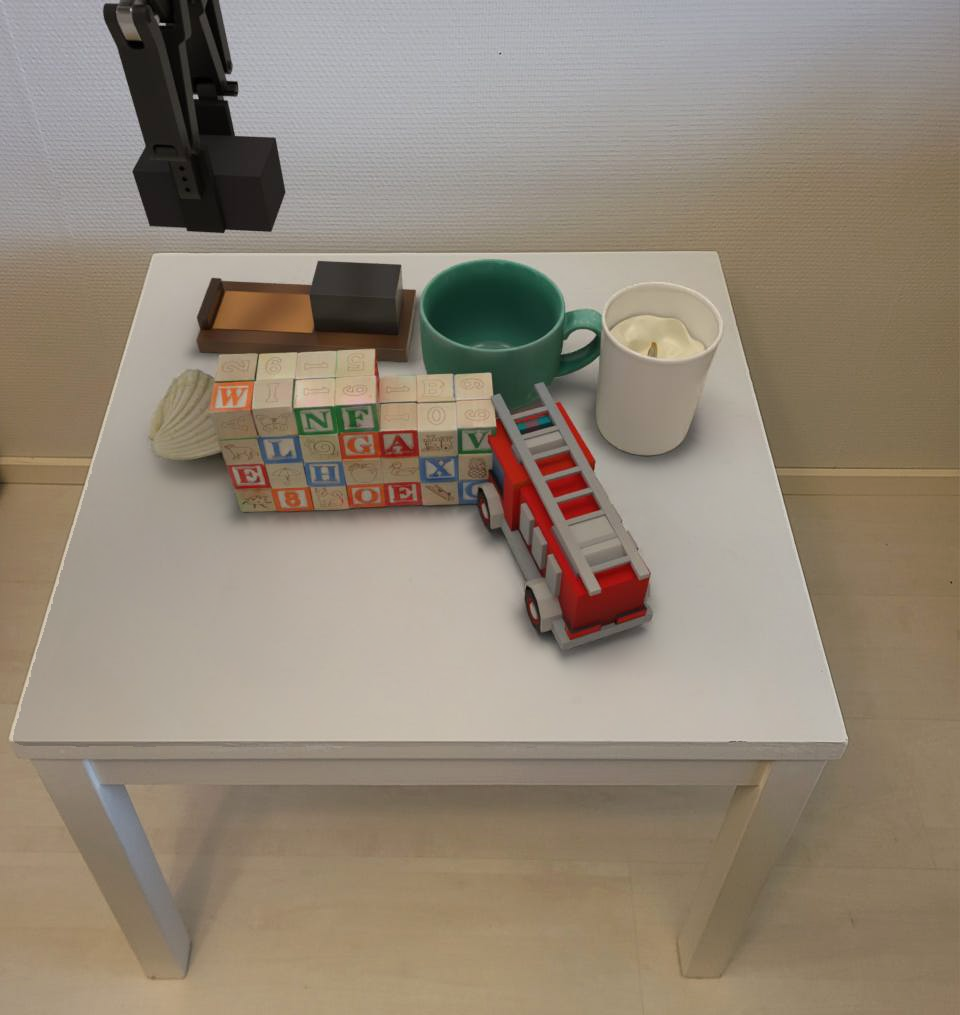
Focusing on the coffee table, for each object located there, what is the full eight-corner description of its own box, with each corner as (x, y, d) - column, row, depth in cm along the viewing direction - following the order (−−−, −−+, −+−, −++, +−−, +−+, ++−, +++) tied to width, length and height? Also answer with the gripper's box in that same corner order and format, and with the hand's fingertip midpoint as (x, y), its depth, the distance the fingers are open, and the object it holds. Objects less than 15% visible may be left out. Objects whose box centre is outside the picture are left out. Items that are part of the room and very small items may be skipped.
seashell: (125, 410, 84) (189, 345, 84) (200, 467, 89) (260, 406, 88) (131, 446, 77) (199, 375, 77) (211, 505, 82) (276, 439, 82)
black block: (149, 226, 70) (131, 170, 66) (169, 187, 73) (153, 132, 69) (271, 232, 69) (260, 176, 66) (285, 192, 72) (275, 137, 69)
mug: (408, 420, 87) (403, 340, 79) (438, 330, 95) (436, 249, 87) (591, 446, 85) (603, 367, 78) (606, 352, 93) (618, 272, 85)
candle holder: (647, 370, 91) (668, 266, 82) (719, 433, 86) (749, 330, 77) (565, 411, 88) (577, 308, 78) (635, 479, 83) (656, 377, 73)
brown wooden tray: (199, 352, 92) (185, 302, 88) (220, 292, 98) (208, 242, 93) (407, 362, 92) (403, 312, 87) (416, 301, 97) (414, 251, 93)
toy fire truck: (560, 458, 84) (569, 375, 76) (660, 632, 73) (682, 554, 65) (464, 486, 82) (463, 403, 74) (551, 668, 71) (561, 593, 63)
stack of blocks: (491, 449, 85) (493, 343, 75) (495, 504, 81) (498, 400, 71) (246, 457, 84) (217, 351, 74) (239, 513, 80) (206, 409, 70)
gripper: (144, -96, 47) (237, 286, 65) (233, -212, 58) (291, 142, 76) (-5, -101, 47) (129, 280, 66) (112, -215, 59) (199, 137, 77)
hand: (216, 205), depth 71 cm, fingers closed on black block, 5 cm apart
